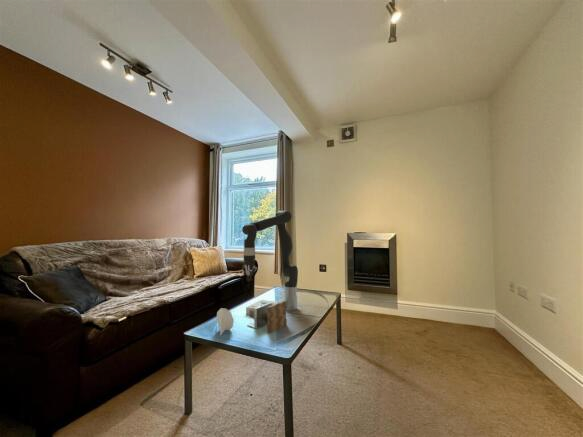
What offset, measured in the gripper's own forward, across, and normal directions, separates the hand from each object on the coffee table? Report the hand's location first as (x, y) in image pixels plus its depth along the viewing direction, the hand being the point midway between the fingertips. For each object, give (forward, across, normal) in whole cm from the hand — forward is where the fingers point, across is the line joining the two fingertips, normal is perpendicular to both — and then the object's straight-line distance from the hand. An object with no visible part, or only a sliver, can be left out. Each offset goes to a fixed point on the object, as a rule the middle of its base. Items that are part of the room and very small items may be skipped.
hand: (249, 280), depth 157 cm
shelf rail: (+26, -8, -8) cm, 29 cm away
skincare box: (+23, -2, -21) cm, 32 cm away
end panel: (+26, -23, -1) cm, 35 cm away
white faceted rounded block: (+26, -2, +22) cm, 34 cm away
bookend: (+26, -12, 0) cm, 29 cm away
